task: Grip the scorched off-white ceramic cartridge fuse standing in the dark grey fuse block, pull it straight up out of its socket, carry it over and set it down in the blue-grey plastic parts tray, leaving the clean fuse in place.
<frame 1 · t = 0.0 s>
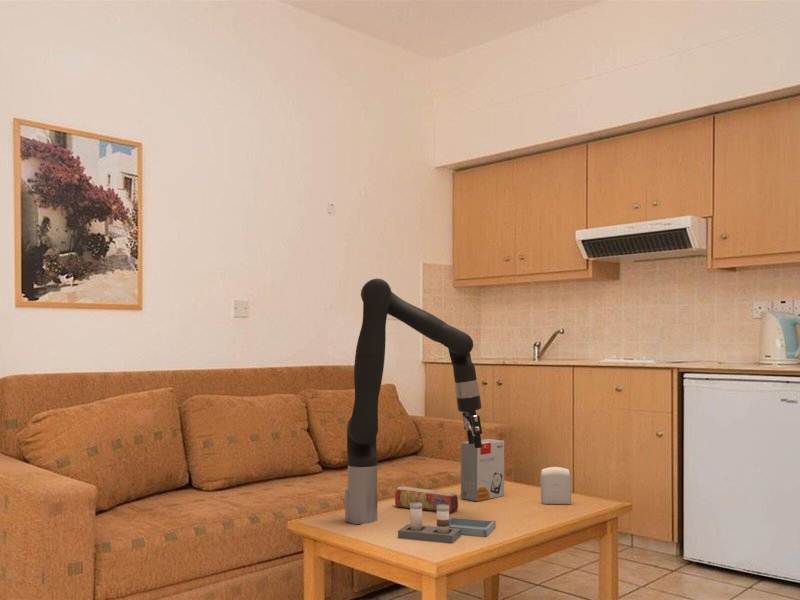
hand: (475, 445, 236), 22 cm above the table, tool pointing down, fingers open, 8 cm apart
blown fuse: (443, 538, 208), resting on fuse block
photo printer: (556, 504, 254), on the table
hard drive box: (482, 498, 264), on the table
fuse block: (429, 538, 209), on the table
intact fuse: (416, 535, 210), resting on fuse block
snack package: (426, 510, 246), on the table
parts tray: (467, 531, 216), on the table
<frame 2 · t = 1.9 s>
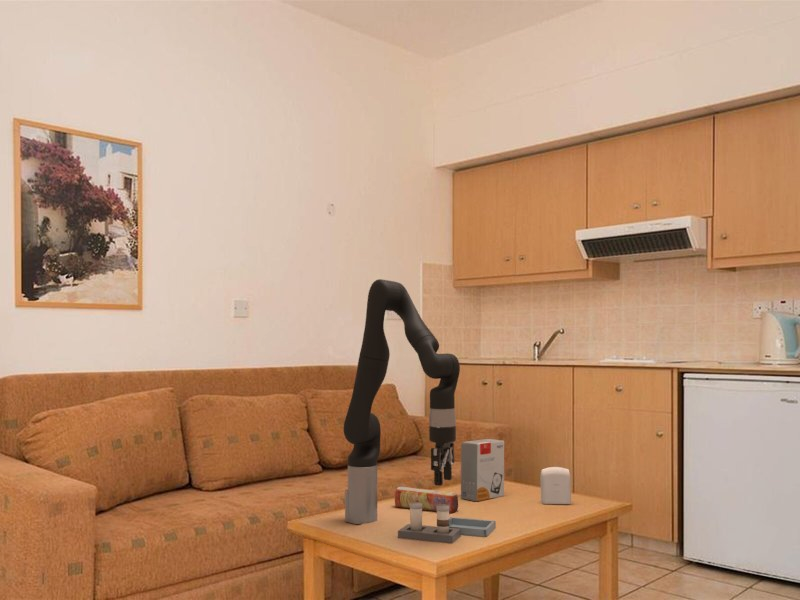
hand: (443, 482, 208), 16 cm above the table, tool pointing down, fingers open, 8 cm apart
nothing on the table moved.
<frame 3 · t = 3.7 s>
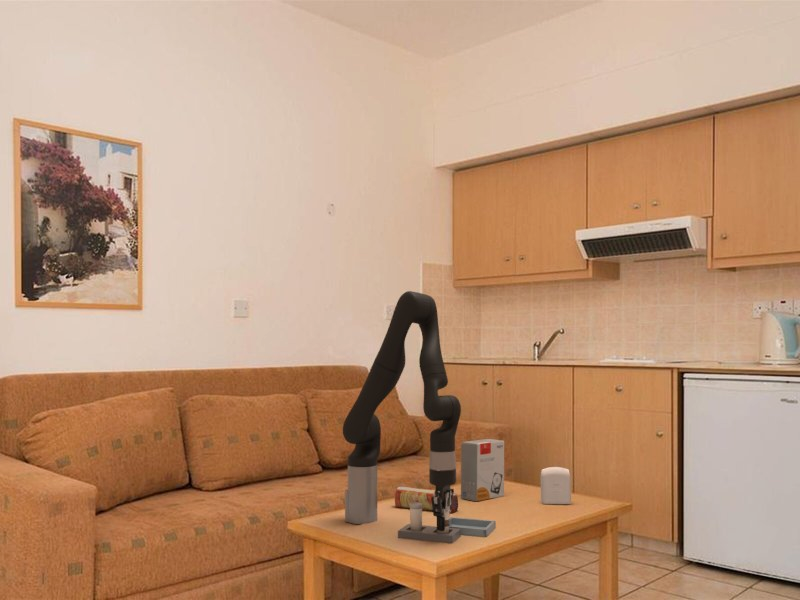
hand: (443, 528, 208), 3 cm above the table, tool pointing down, fingers closed on blown fuse, 3 cm apart
blown fuse: (443, 538, 208), point 1 cm above the table, touching fuse block, gripper
everything else where it was.
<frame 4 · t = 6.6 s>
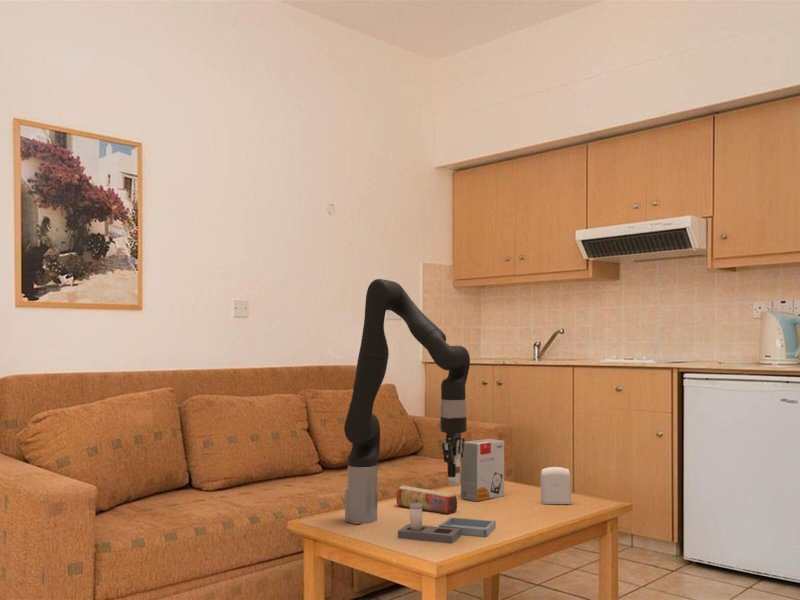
hand: (453, 475, 212), 17 cm above the table, tool pointing down, fingers closed on blown fuse, 3 cm apart
blown fuse: (454, 485, 212), point 15 cm above the table, touching gripper
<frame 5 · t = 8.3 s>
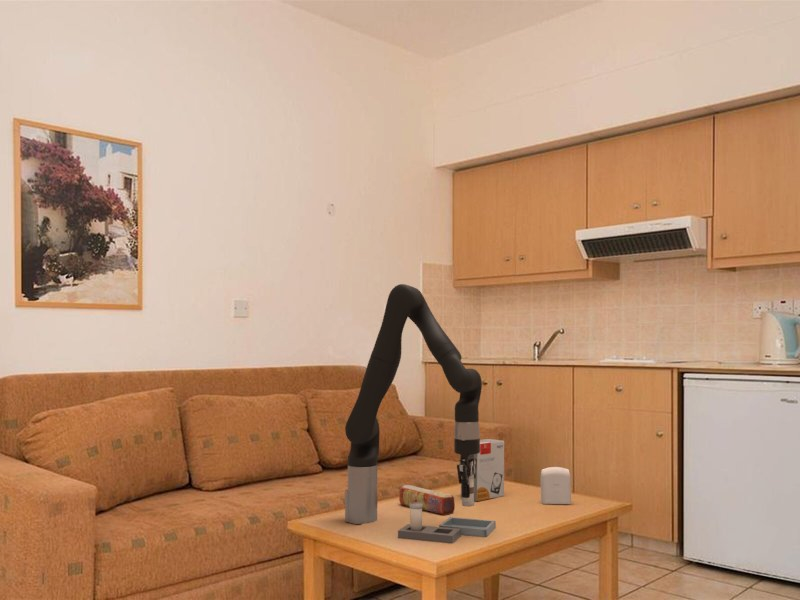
hand: (467, 495, 217), 10 cm above the table, tool pointing down, fingers closed on blown fuse, 3 cm apart
blown fuse: (468, 505, 217), point 8 cm above the table, touching gripper
when the fingers open (4 cm above the table, at t = 9.7 s): blown fuse drops 1 cm, resting on parts tray.
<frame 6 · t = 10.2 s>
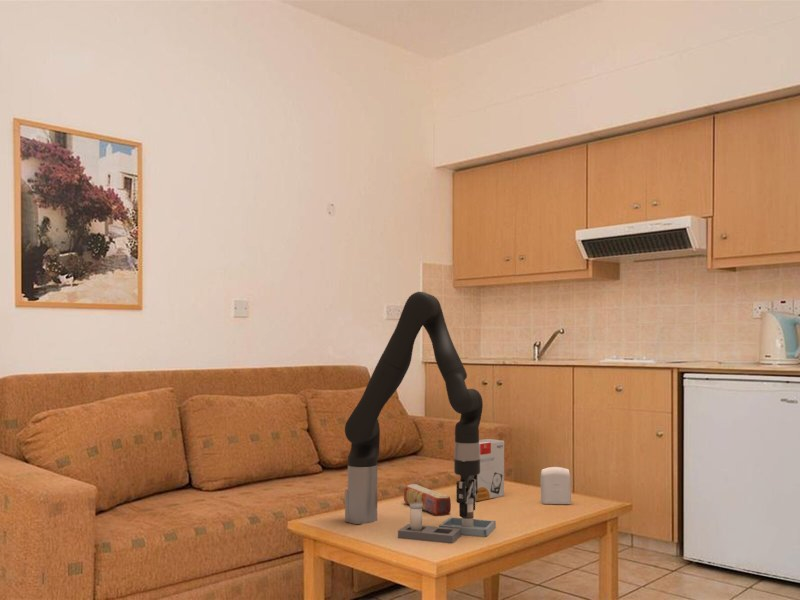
hand: (467, 513, 217), 5 cm above the table, tool pointing down, fingers open, 8 cm apart
blown fuse: (467, 529, 216), point 1 cm above the table, touching parts tray
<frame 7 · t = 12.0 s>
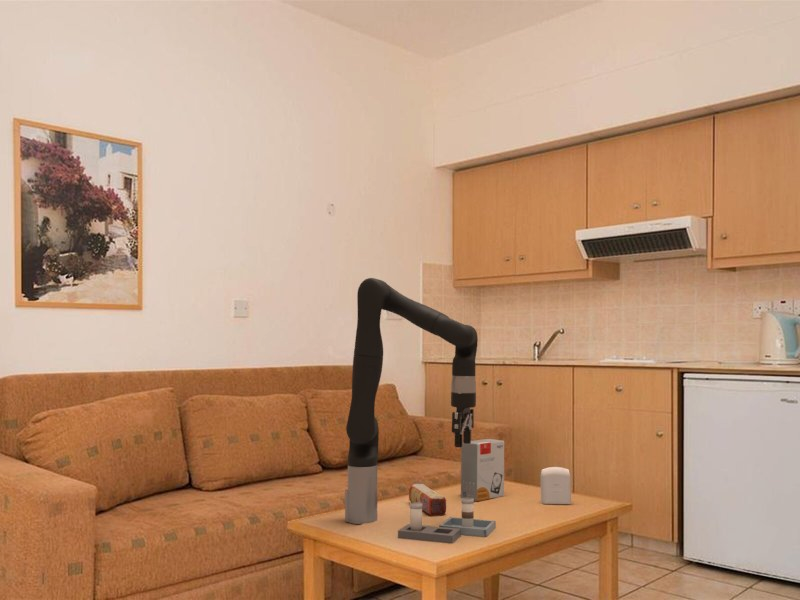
hand: (462, 445, 222), 24 cm above the table, tool pointing down, fingers open, 8 cm apart
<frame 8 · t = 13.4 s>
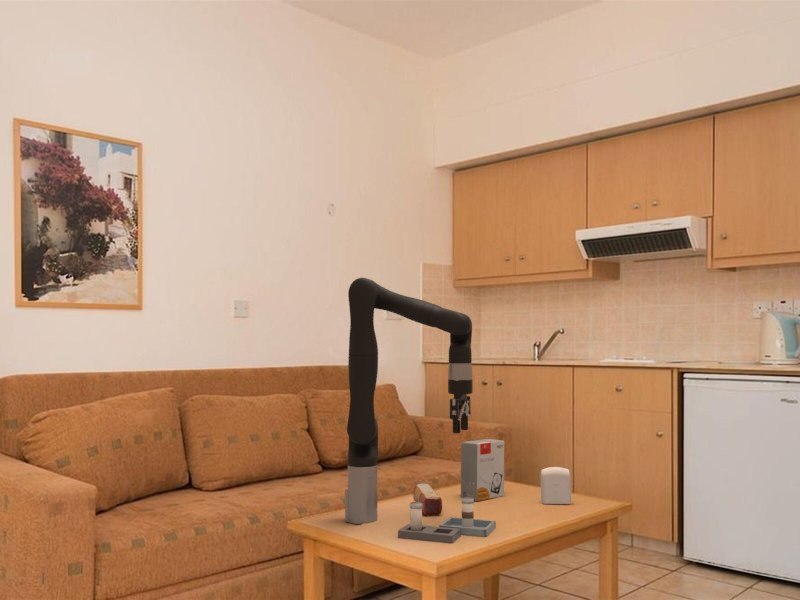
hand: (460, 431, 226), 28 cm above the table, tool pointing down, fingers open, 8 cm apart
at the end: blown fuse inside the target area on the parts tray (0.1 cm from its centre), point 0.6 cm above the parts tray's base; the gripper is holding nothing; blown fuse touching parts tray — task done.
